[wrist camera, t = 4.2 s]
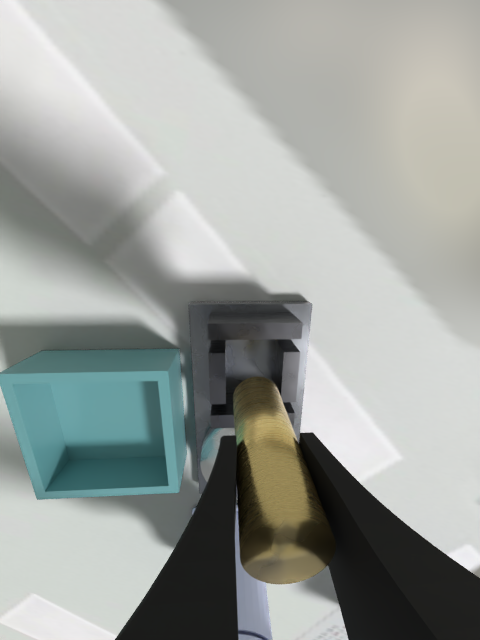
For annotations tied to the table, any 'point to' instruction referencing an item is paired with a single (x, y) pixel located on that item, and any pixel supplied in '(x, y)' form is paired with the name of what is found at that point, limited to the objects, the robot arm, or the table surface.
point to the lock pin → (275, 492)
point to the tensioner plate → (243, 363)
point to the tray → (99, 421)
